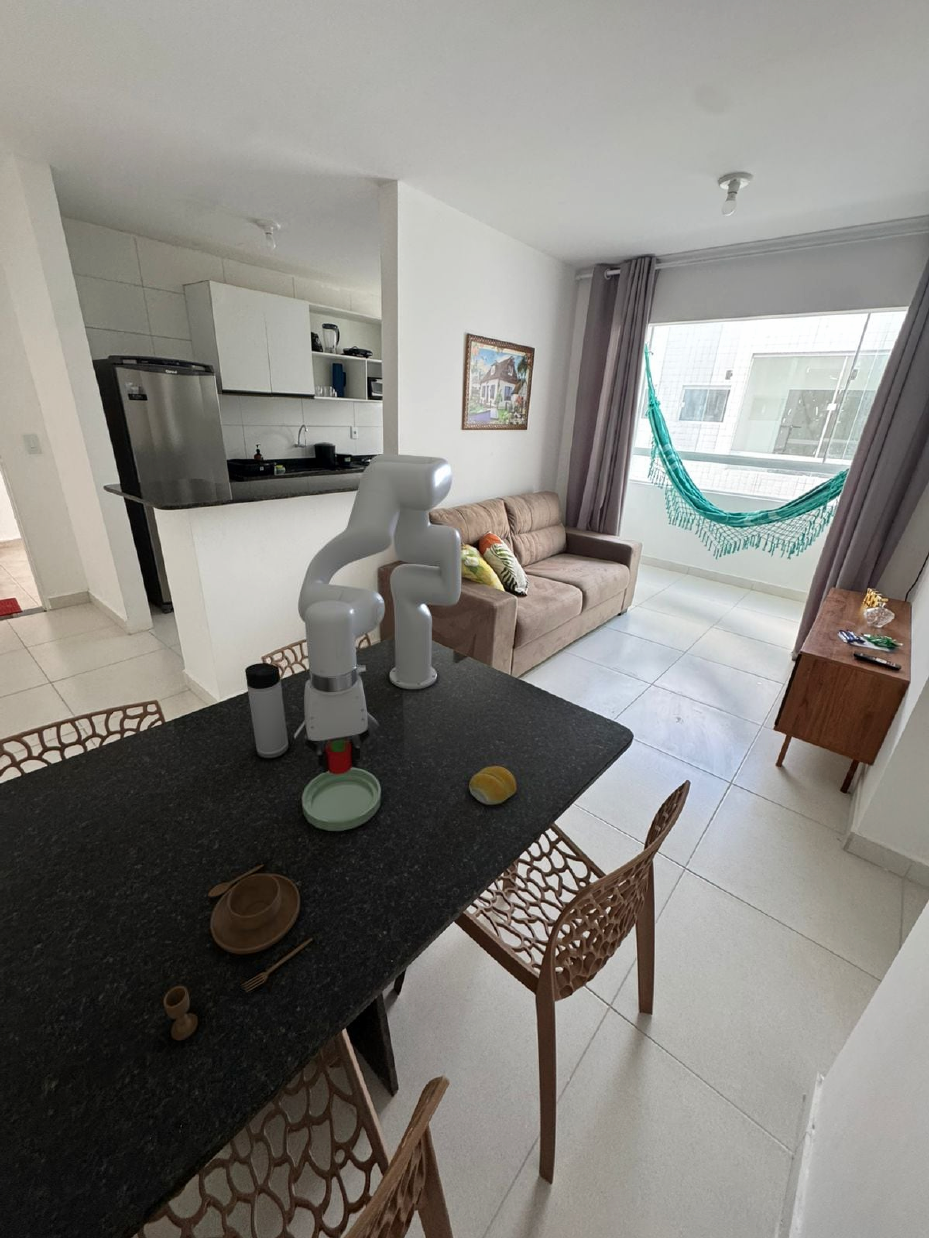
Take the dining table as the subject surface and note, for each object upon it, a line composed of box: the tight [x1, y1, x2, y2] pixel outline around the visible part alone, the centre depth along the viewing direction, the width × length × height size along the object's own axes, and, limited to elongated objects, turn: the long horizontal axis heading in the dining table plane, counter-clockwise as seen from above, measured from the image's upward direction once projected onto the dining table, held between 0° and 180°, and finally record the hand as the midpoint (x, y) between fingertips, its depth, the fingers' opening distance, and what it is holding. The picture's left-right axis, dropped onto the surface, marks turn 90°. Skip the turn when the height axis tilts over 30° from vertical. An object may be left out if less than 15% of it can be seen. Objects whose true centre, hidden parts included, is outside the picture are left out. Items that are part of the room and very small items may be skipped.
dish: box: [301, 767, 382, 832], centre depth 94 cm, size 14×14×3 cm
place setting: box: [163, 864, 313, 1041], centre depth 70 cm, size 18×20×6 cm
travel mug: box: [244, 662, 289, 759], centre depth 104 cm, size 6×7×20 cm
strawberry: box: [325, 739, 353, 774], centre depth 90 cm, size 4×4×5 cm
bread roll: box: [468, 765, 517, 806], centre depth 99 cm, size 8×9×4 cm
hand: (339, 764), depth 91 cm, fingers closed on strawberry, 4 cm apart
